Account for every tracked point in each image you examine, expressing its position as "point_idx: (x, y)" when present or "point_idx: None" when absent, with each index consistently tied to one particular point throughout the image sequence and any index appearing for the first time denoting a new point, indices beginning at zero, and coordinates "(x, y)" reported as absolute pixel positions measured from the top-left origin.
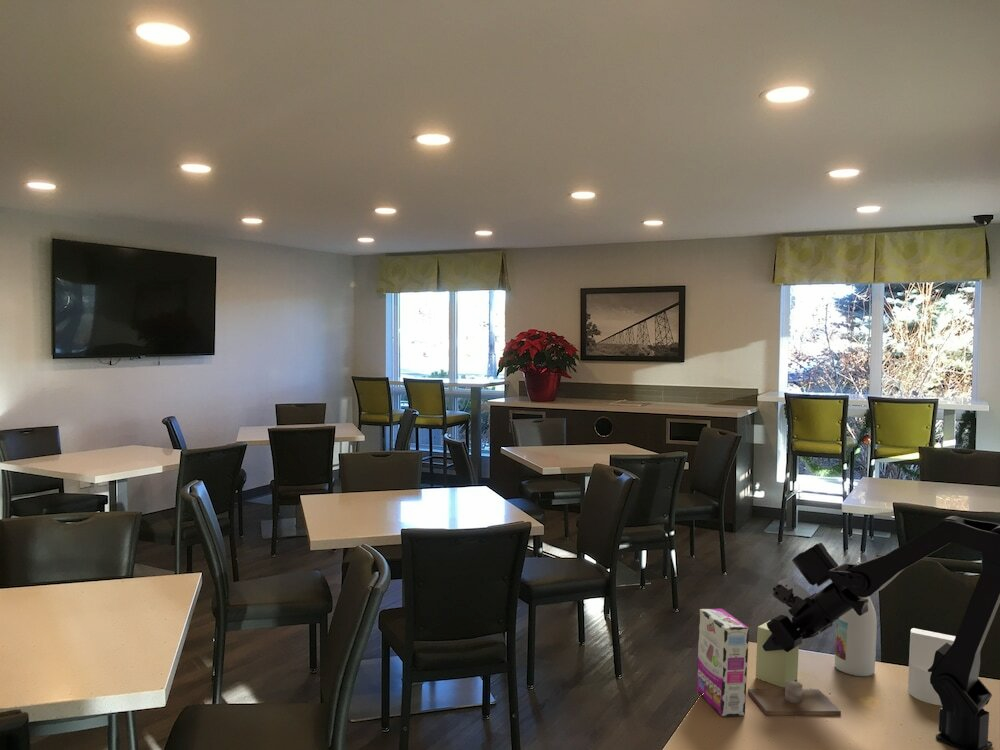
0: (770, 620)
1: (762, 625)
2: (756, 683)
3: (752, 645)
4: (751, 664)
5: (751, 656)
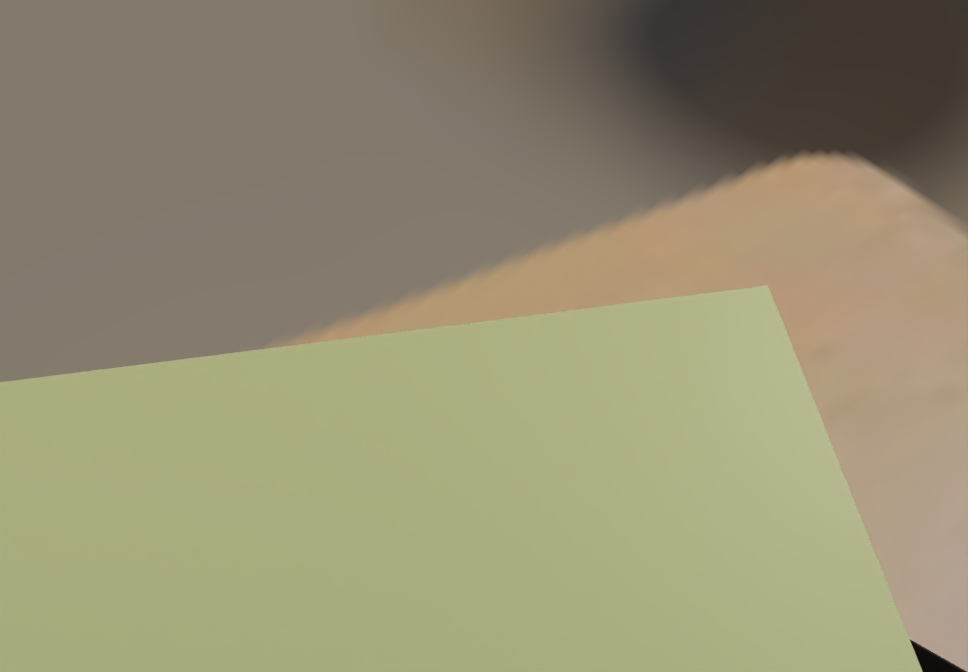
0: (710, 297)
1: (168, 399)
2: None
3: (853, 185)
4: None
5: (684, 290)
